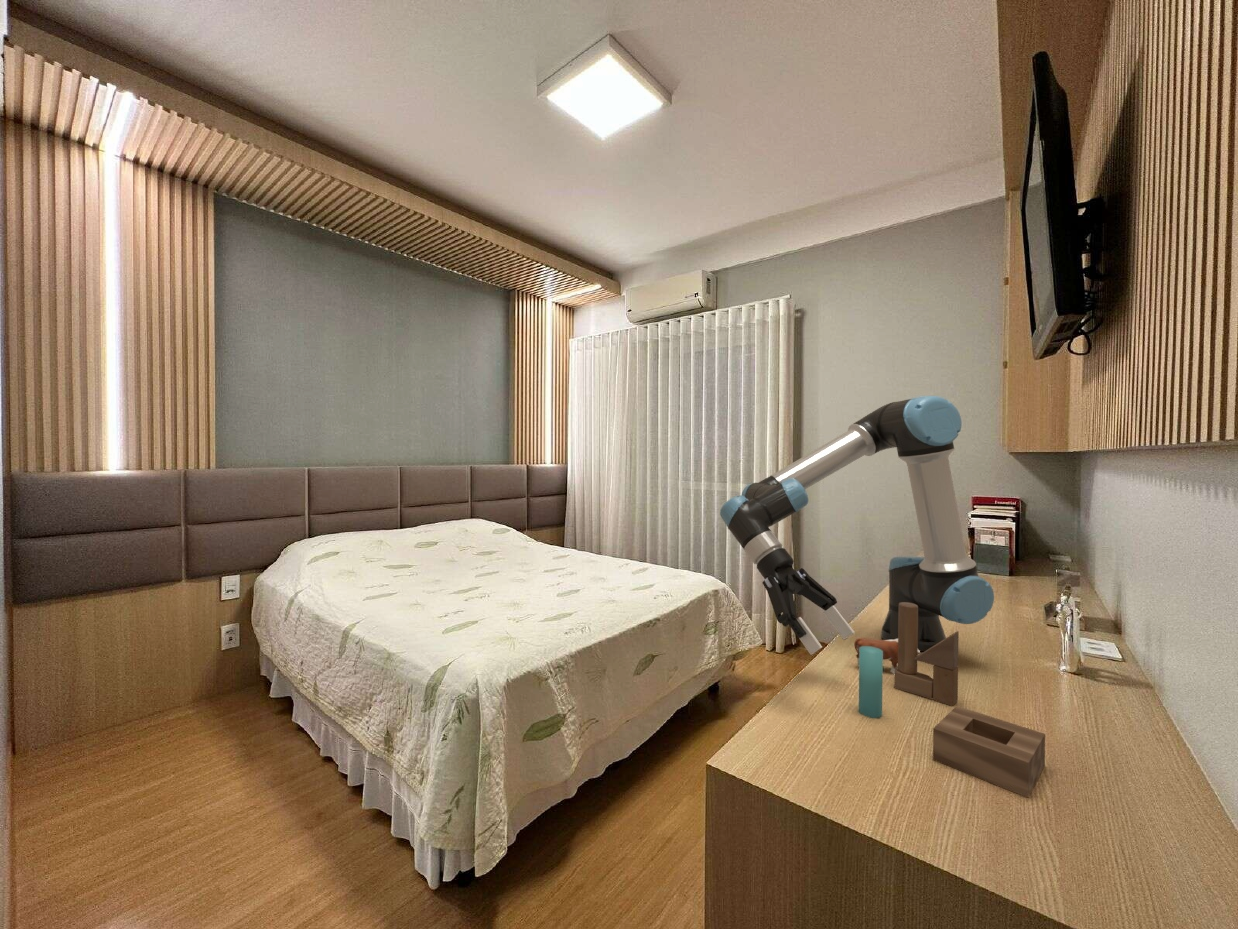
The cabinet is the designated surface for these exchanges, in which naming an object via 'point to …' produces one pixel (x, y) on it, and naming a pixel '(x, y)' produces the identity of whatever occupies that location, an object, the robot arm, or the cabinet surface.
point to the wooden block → (938, 655)
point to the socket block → (990, 749)
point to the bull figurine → (885, 645)
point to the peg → (870, 681)
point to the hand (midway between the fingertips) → (833, 643)
